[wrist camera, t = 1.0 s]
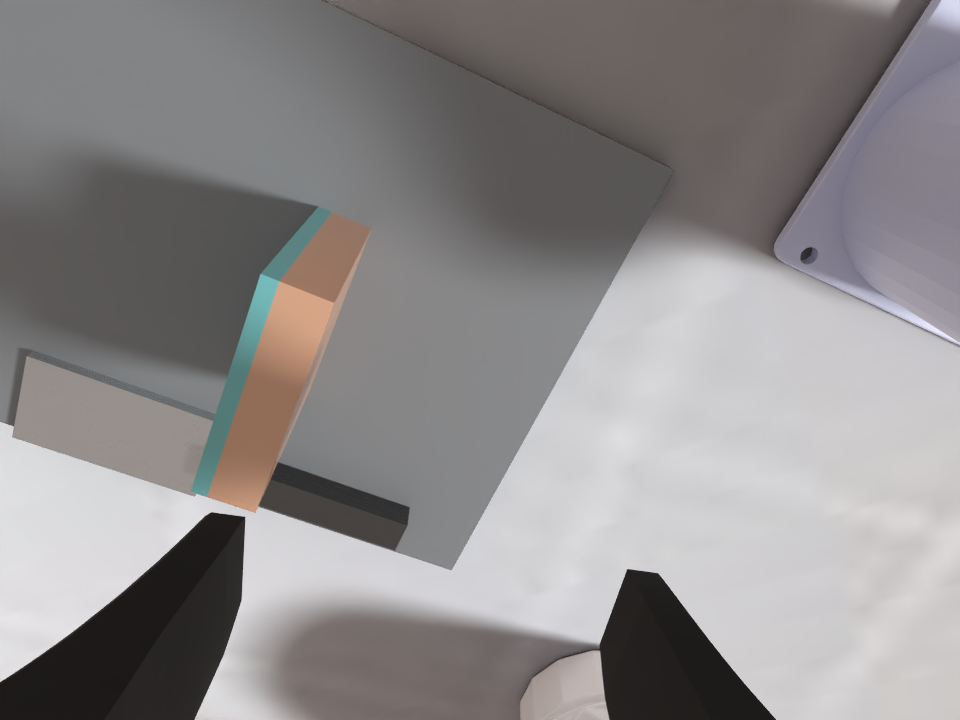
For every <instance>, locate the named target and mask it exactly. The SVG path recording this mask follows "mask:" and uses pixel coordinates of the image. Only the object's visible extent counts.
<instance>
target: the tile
mask: <svg viewBox="0 0 960 720" xmlns="http://www.w3.org/2000/svg"><path fill="white" fill-rule="evenodd" d="M370 231H371V228H368V227H366V226H364V225H361V224H359V223H357V222H354V221H352V220H350V219H347V218H345V217H342V216H340V215H338V214H335V213H333V212H331V211H328V210H326V209H323V208H321V207H318V208H317V209H316V210H315V211H314V213H313V214H312V215H311V216H310V217H309V218H308V219H307V221H306V222H305V223H304V224H303V225H302V226H301V228H300V229H299V230H298V231H297V232H296V233H295V235H294V236H293V237H292V238H291V239H290V240H289V242H288V243H287V244H286V245H285V246H284V247H283V249H282V250H281V251H280V252H279V253H278V254H277V255H276V257H275V258H274V259H273V260H272V261H271V262H270V264H269V265H268V266H267V267H266V268H265V269H264V271H263V272H262V273H261V274H260V277H259V280H258V284H257V287H256V290H255V293H254V296H253V299H252V302H251V305H250V308H249V312H248V315H247V318H246V321H245V324H244V327H243V330H242V333H241V336H240V340H239V343H238V346H237V349H236V352H235V355H234V358H233V361H232V364H231V368H230V371H229V374H228V377H227V380H226V383H225V386H224V389H223V392H222V396H221V399H220V402H219V405H218V408H217V411H216V414H215V417H214V420H213V424H212V427H211V430H210V433H209V436H208V439H207V442H206V445H205V448H204V452H203V455H202V458H201V461H200V464H199V467H198V470H197V473H196V476H195V480H194V483H193V486H192V489H191V492H193V493H197V494H200V495H203V496H206V497H209V498H212V499H215V500H218V501H221V502H224V503H227V504H230V505H233V506H236V507H239V508H242V509H245V510H249V511H252V512H255V513H256V510H257V508H258V506H259V504H260V501H261V499H262V497H263V495H264V492H265V490H266V488H267V486H268V483H269V481H270V479H271V477H272V474H273V472H274V470H275V468H276V465H277V463H278V461H279V459H280V456H281V454H282V452H283V450H284V447H285V445H286V443H287V441H288V438H289V436H290V434H291V432H292V429H293V427H294V425H295V423H296V420H297V418H298V416H299V414H300V411H301V409H302V407H303V405H304V402H305V400H306V398H307V396H308V393H309V390H310V388H311V385H312V383H313V380H314V377H315V375H316V372H317V370H318V367H319V364H320V362H321V359H322V357H323V354H324V351H325V349H326V346H327V344H328V341H329V338H330V336H331V333H332V330H333V328H334V325H335V323H336V320H337V317H338V315H339V312H340V310H341V307H342V304H343V302H344V299H345V297H346V294H347V291H348V289H349V286H350V284H351V281H352V278H353V276H354V273H355V270H356V268H357V265H358V263H359V260H360V257H361V255H362V252H363V250H364V247H365V244H366V242H367V239H368V237H369V234H370Z"/></svg>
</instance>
